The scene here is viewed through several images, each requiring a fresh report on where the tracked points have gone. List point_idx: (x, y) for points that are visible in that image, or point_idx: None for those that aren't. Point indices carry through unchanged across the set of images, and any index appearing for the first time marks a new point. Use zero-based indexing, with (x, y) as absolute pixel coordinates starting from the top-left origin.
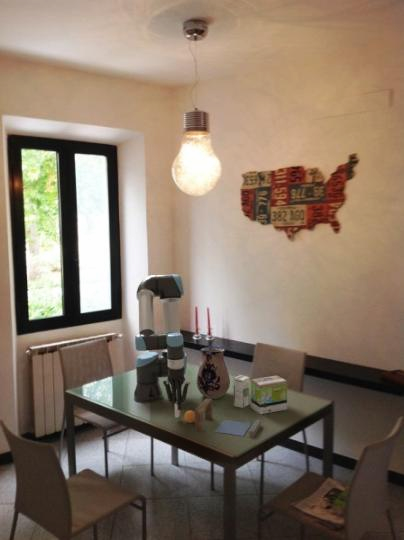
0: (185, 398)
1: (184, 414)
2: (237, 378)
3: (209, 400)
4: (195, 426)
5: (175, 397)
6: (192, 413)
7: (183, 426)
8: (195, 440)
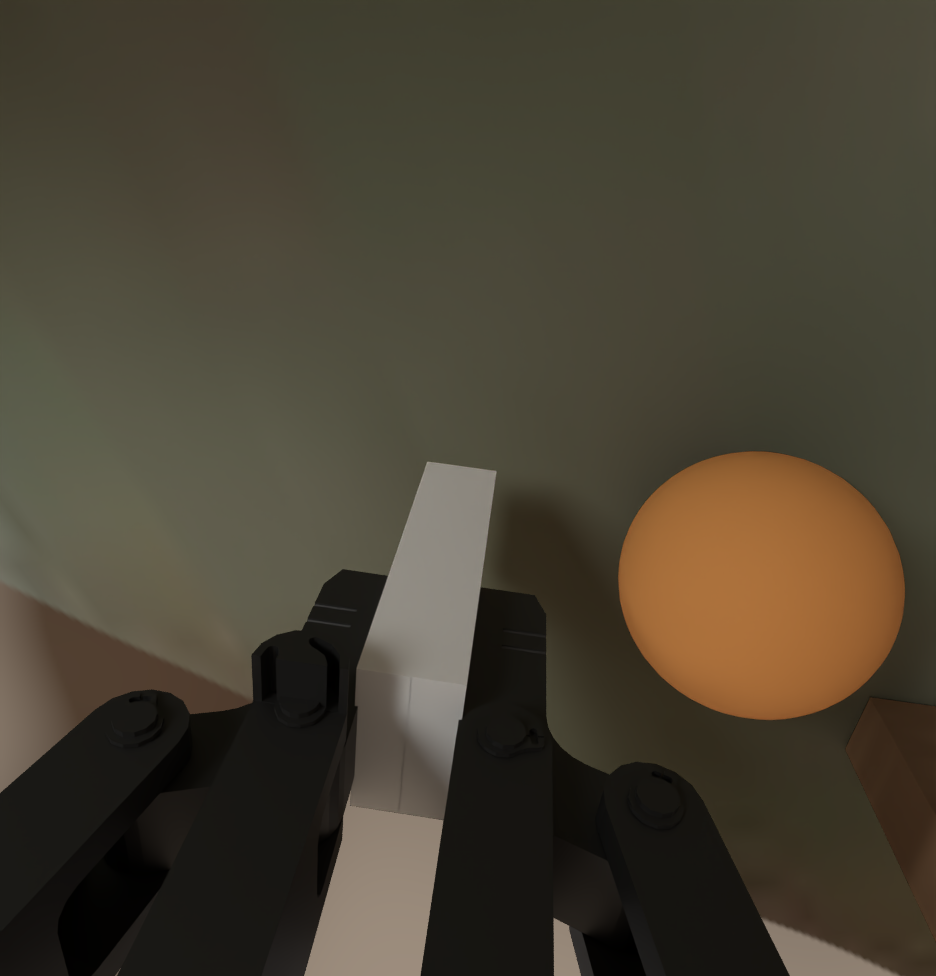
0: (738, 905)
1: (634, 626)
2: None
3: None
4: (875, 801)
5: (303, 918)
6: (852, 690)
7: (630, 663)
8: (865, 953)
